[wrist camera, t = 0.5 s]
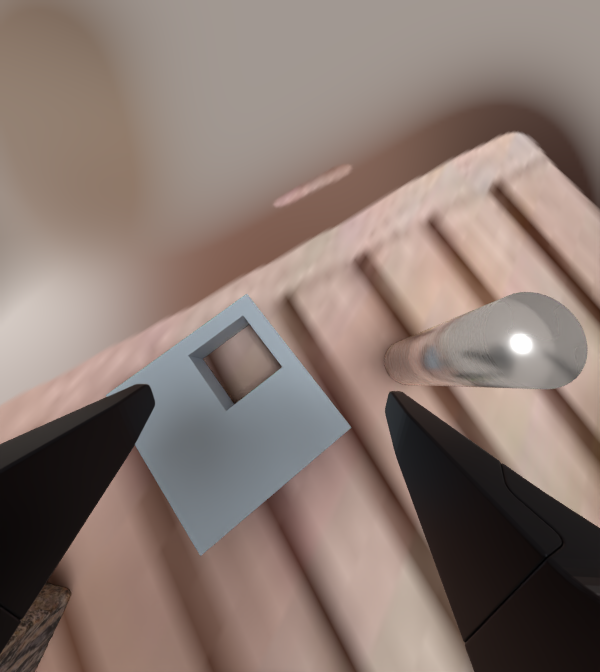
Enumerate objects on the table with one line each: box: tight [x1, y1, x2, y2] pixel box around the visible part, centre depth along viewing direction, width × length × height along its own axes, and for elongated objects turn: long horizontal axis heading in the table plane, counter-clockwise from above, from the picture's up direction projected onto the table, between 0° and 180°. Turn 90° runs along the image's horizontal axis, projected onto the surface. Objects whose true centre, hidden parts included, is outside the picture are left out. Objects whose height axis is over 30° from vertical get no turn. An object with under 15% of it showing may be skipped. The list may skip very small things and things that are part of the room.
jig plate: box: [106, 294, 351, 556], centre depth 21 cm, size 15×15×3 cm
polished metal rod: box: [384, 292, 587, 389], centre depth 17 cm, size 4×4×13 cm
